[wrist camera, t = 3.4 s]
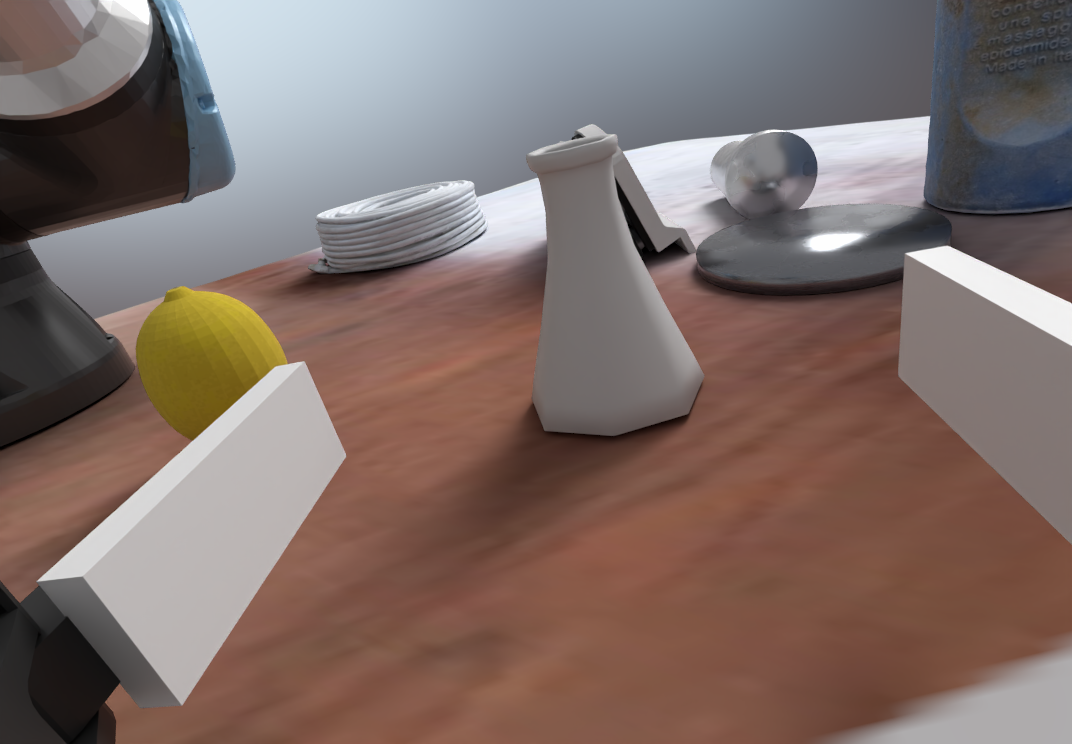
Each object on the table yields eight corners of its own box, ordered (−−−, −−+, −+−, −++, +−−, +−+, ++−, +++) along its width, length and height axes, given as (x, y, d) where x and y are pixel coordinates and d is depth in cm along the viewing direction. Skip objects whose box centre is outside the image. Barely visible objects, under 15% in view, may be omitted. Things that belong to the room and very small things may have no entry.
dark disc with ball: (720, 312, 29) (709, 192, 26) (663, 208, 52) (655, 139, 49) (1009, 263, 26) (1028, 125, 24) (815, 177, 50) (814, 102, 47)
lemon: (261, 485, 24) (165, 306, 20) (168, 483, 26) (67, 320, 22) (338, 413, 28) (271, 257, 25) (254, 416, 30) (181, 273, 27)
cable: (301, 278, 62) (279, 223, 60) (421, 229, 73) (406, 181, 71) (397, 281, 51) (374, 214, 48) (521, 223, 62) (508, 165, 60)
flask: (520, 452, 22) (444, 183, 17) (543, 366, 28) (491, 153, 24) (718, 431, 20) (688, 129, 16) (695, 344, 26) (669, 112, 22)
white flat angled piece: (698, 252, 38) (627, 114, 34) (636, 290, 39) (560, 160, 35) (641, 210, 53) (587, 111, 49) (597, 238, 54) (541, 143, 50)
